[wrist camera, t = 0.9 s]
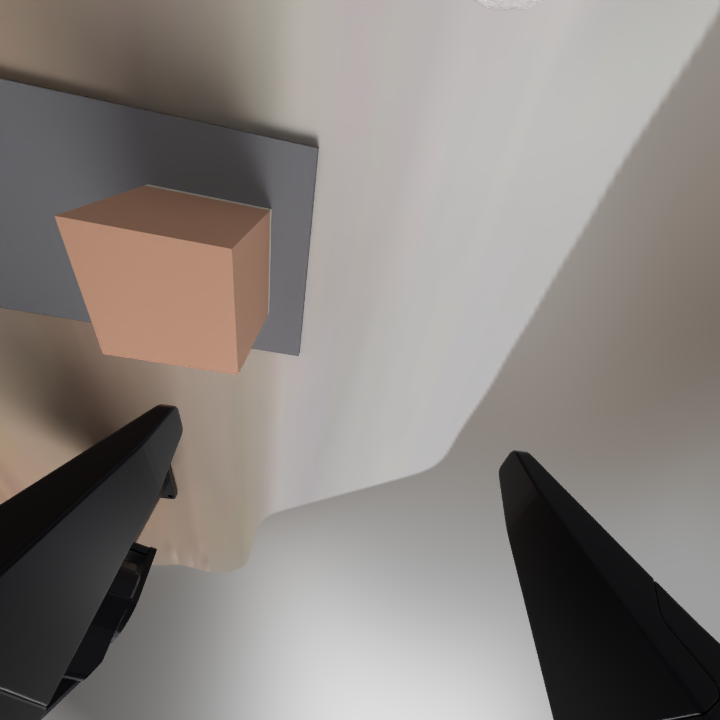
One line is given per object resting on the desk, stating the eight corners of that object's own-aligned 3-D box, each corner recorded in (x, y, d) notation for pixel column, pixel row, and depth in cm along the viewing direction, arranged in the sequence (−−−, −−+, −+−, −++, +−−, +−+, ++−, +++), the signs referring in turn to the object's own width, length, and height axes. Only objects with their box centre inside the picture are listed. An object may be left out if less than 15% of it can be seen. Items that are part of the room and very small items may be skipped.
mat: (299, 352, 23) (298, 356, 22) (-54, 294, 21) (-61, 297, 20) (318, 147, 15) (317, 148, 15) (-220, 29, 14) (-234, 27, 13)
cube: (269, 311, 20) (238, 374, 16) (167, 294, 20) (102, 354, 15) (271, 208, 17) (231, 248, 12) (147, 184, 16) (54, 215, 11)
